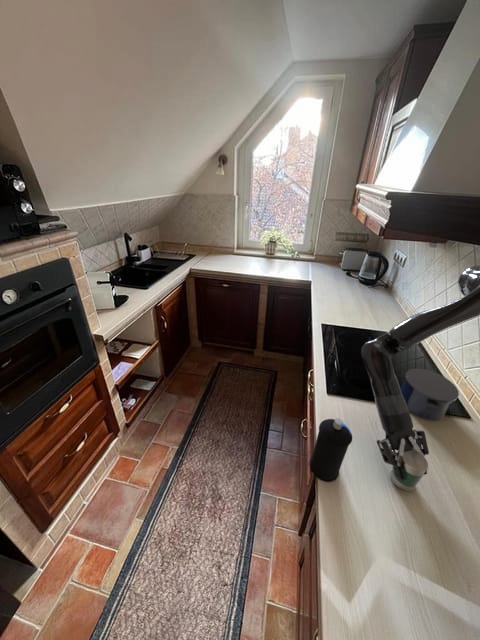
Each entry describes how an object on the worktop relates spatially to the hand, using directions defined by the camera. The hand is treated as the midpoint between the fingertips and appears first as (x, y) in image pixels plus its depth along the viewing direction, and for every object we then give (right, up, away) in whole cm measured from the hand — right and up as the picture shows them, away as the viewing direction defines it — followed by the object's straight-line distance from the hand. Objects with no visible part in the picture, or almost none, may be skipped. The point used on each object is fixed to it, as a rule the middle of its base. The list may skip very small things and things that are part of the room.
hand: (412, 476), depth 67 cm
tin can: (-1, -3, +4) cm, 5 cm away
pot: (+22, +10, +28) cm, 37 cm away
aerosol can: (-21, -2, +7) cm, 22 cm away
